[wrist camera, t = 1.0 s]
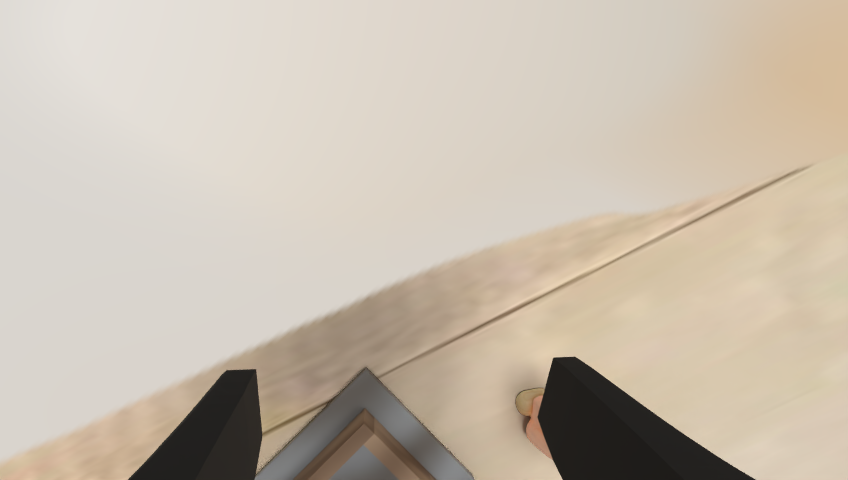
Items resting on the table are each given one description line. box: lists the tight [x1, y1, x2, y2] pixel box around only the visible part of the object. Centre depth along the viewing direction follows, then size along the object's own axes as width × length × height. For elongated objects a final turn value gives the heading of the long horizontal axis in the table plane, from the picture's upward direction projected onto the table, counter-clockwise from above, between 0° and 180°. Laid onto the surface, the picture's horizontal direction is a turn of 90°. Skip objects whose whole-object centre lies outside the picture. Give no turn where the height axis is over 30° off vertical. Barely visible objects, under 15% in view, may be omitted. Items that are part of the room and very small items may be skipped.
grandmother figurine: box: [516, 388, 553, 460], centre depth 25 cm, size 8×4×13 cm, turn 41°
